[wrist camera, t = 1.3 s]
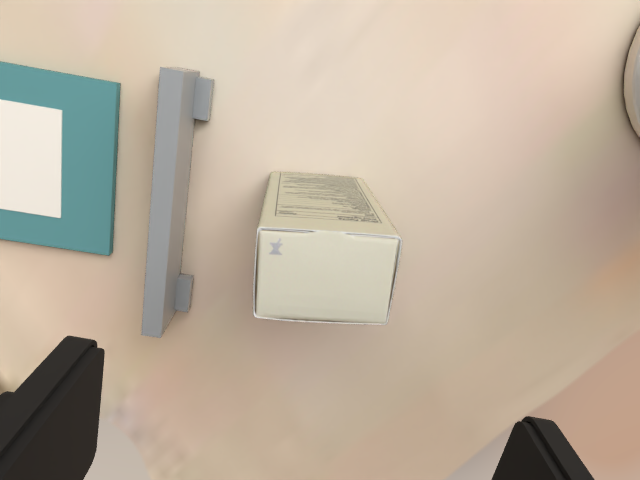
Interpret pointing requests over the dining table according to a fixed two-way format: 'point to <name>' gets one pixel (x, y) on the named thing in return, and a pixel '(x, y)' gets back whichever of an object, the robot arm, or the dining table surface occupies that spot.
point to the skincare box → (324, 252)
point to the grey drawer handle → (171, 194)
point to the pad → (57, 158)
